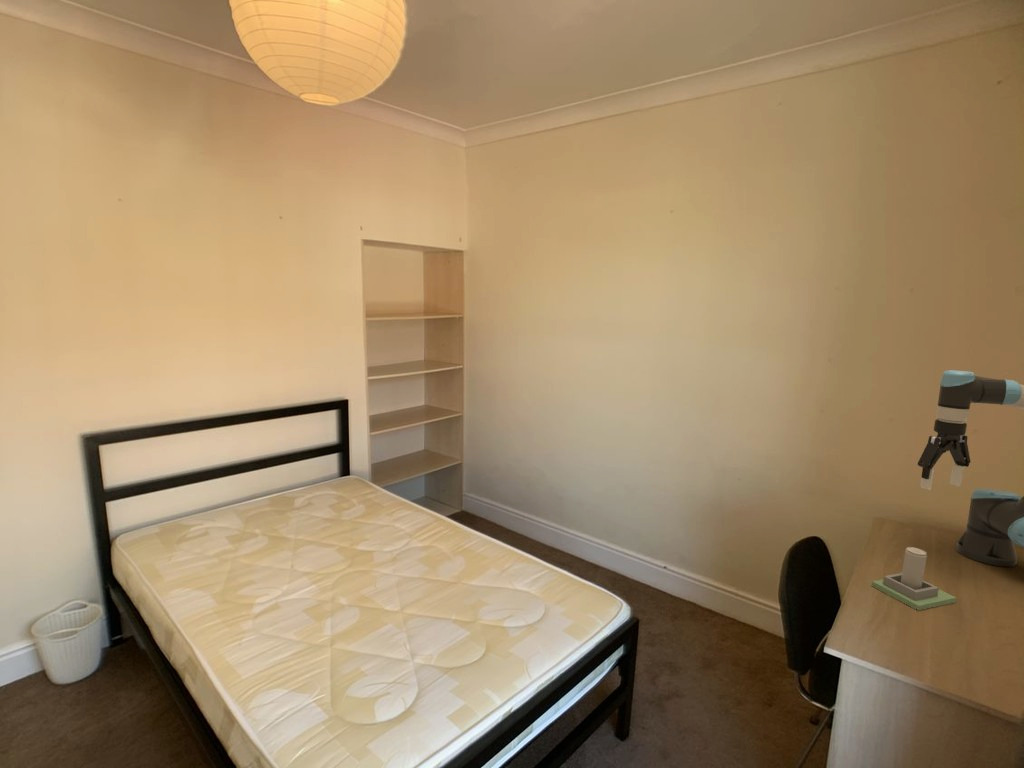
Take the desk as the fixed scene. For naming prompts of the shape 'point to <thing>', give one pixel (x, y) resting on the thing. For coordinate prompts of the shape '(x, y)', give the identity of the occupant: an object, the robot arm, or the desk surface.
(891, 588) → the green tray with frame
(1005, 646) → the desk surface
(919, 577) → the beverage can
